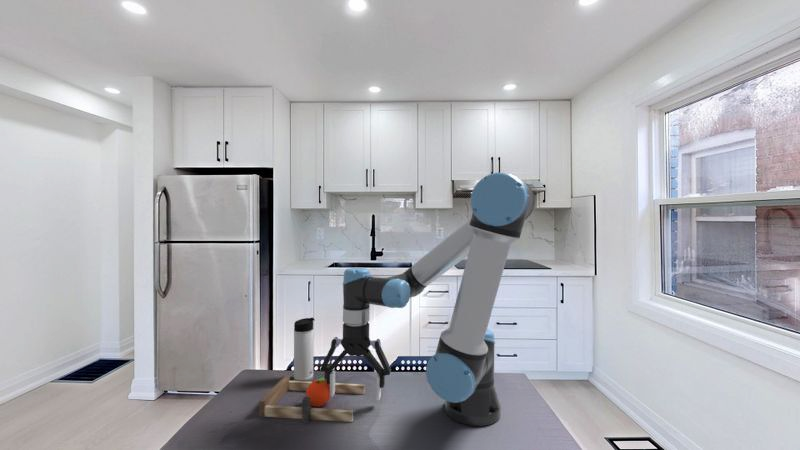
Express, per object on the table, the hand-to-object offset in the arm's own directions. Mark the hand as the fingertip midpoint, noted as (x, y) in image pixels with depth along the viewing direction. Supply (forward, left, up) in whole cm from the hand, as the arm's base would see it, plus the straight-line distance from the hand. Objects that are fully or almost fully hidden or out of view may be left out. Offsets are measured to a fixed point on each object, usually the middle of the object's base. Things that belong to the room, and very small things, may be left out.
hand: (355, 396), depth 99 cm
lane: (+12, 0, -2) cm, 12 cm away
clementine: (+10, 0, -3) cm, 11 cm away
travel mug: (+21, -15, -3) cm, 26 cm away
